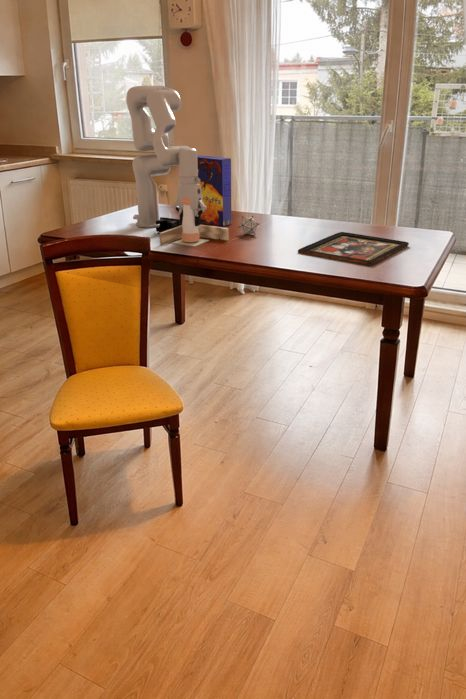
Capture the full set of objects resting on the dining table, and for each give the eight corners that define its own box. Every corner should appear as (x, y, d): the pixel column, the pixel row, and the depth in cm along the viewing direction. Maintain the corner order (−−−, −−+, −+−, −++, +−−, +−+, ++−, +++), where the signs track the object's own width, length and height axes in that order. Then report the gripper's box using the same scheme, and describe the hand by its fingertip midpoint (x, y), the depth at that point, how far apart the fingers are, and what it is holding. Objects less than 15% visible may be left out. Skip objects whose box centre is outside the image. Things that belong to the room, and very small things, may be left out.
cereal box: (190, 219, 287) (187, 155, 275) (198, 217, 291) (196, 154, 279) (222, 226, 274) (221, 159, 261) (231, 224, 278) (230, 157, 265)
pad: (172, 243, 246) (172, 242, 246) (187, 237, 255) (187, 237, 255) (194, 246, 241) (194, 245, 241) (209, 240, 250) (209, 240, 250)
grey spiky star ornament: (251, 243, 260) (256, 228, 251) (234, 236, 260) (238, 220, 251) (258, 229, 264) (263, 214, 256) (241, 222, 264) (245, 207, 256)
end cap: (183, 233, 263) (182, 218, 260) (174, 236, 257) (173, 221, 255) (164, 230, 267) (163, 215, 265) (155, 234, 262) (154, 218, 259)
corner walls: (160, 244, 244) (159, 232, 242) (188, 234, 261) (187, 222, 259) (202, 251, 235) (201, 238, 233) (228, 239, 251) (228, 228, 249)
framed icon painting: (330, 235, 259) (331, 228, 257) (410, 246, 242) (411, 239, 241) (293, 257, 229) (293, 250, 228) (381, 271, 213) (382, 263, 212)
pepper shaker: (195, 237, 252) (194, 191, 244) (202, 241, 246) (200, 194, 238) (179, 239, 250) (177, 192, 242) (185, 243, 244) (183, 195, 236)
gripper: (211, 180, 237) (212, 225, 244) (176, 177, 245) (178, 220, 252) (201, 183, 231) (203, 228, 238) (165, 180, 239) (168, 224, 246)
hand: (190, 224), depth 245 cm, fingers closed on pepper shaker, 6 cm apart
